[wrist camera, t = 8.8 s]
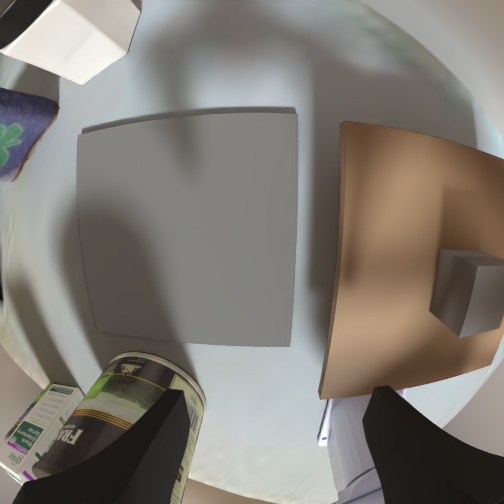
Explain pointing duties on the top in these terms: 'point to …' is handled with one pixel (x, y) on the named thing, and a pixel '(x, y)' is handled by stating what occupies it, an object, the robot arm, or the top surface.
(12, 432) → the syrup box
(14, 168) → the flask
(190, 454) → the coffee can
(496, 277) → the lid
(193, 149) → the mat
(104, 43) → the jar
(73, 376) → the top surface
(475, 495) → the robot arm
